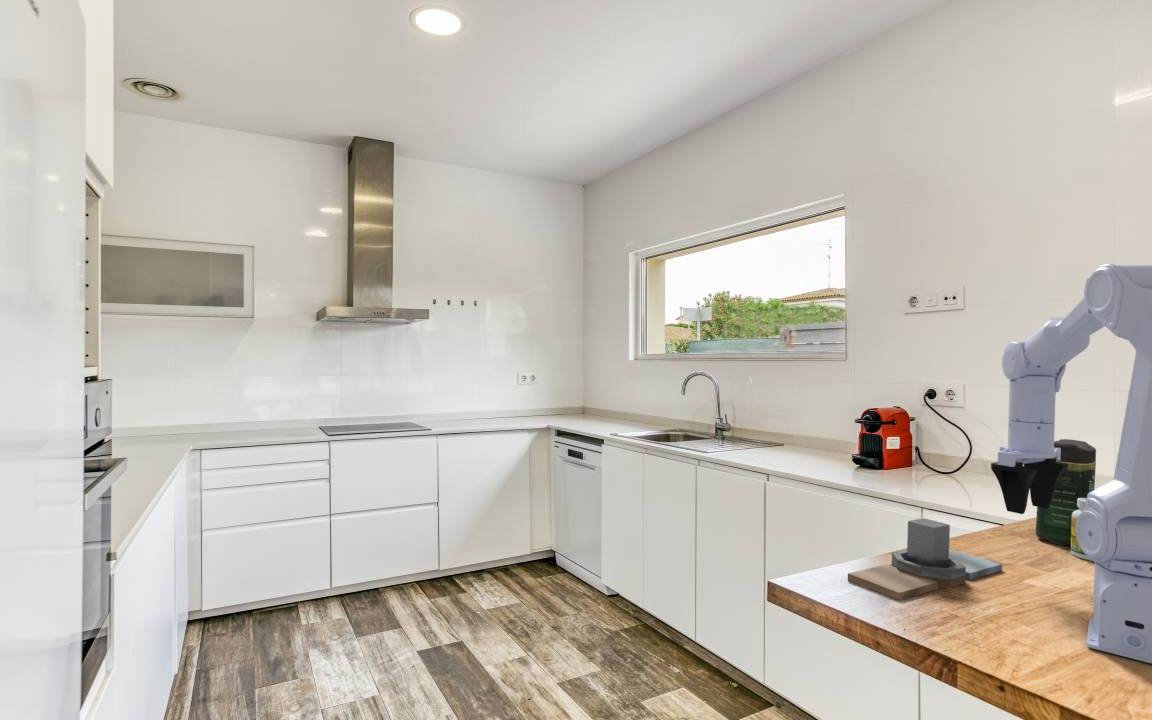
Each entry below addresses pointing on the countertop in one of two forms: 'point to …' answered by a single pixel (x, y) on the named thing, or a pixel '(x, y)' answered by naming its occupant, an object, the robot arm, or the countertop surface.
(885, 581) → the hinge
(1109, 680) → the countertop surface
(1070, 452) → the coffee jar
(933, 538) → the grey metal brick
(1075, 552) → the supplement bottle
